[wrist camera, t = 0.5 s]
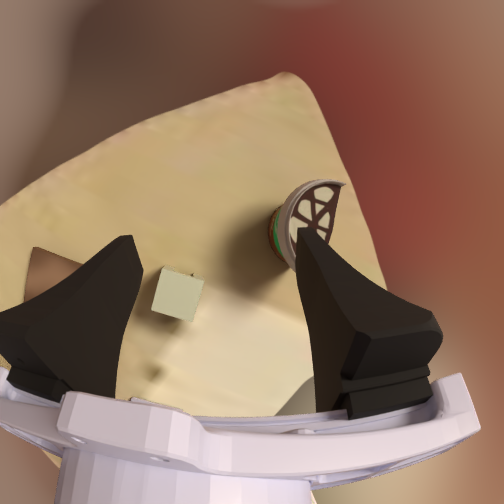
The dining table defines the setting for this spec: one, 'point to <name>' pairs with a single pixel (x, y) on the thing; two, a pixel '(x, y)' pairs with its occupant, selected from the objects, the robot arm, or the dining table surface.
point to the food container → (304, 216)
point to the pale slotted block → (177, 294)
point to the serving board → (46, 271)
